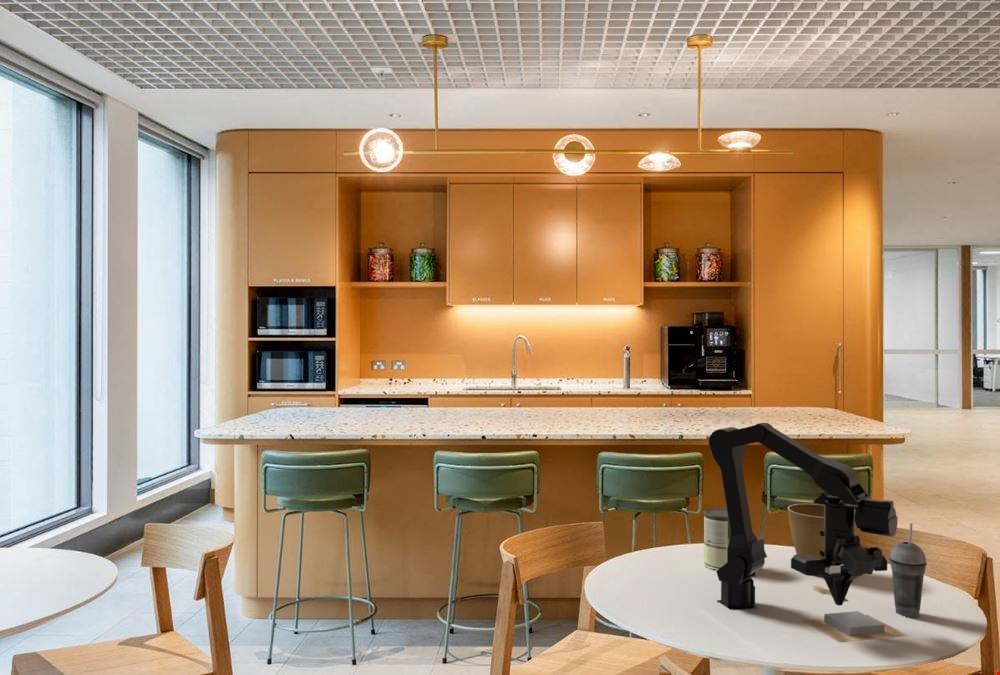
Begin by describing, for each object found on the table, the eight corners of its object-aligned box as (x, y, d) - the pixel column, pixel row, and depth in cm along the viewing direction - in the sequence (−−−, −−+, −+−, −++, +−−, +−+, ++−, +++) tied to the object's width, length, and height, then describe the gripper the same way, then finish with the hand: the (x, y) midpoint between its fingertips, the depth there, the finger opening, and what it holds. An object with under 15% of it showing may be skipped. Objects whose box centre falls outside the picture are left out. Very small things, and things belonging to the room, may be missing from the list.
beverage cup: (914, 608, 176) (915, 518, 176) (933, 620, 168) (934, 526, 168) (882, 608, 175) (883, 518, 175) (899, 620, 168) (900, 526, 168)
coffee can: (710, 558, 214) (710, 506, 214) (748, 564, 208) (749, 511, 208) (697, 567, 205) (698, 513, 205) (737, 574, 200) (738, 518, 200)
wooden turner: (872, 612, 173) (872, 607, 173) (852, 613, 172) (852, 609, 172) (825, 589, 189) (825, 584, 189) (807, 590, 188) (807, 586, 188)
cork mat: (838, 645, 154) (838, 642, 154) (801, 623, 166) (801, 620, 166) (908, 638, 158) (908, 635, 158) (867, 617, 170) (867, 614, 170)
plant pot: (776, 571, 203) (776, 509, 202) (804, 560, 213) (804, 501, 212) (833, 585, 192) (834, 519, 191) (860, 573, 202) (860, 510, 201)
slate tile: (849, 627, 157) (884, 624, 159) (824, 613, 165) (857, 611, 167) (849, 636, 157) (884, 633, 159) (824, 622, 165) (857, 619, 167)
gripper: (823, 540, 151) (823, 622, 151) (907, 535, 155) (907, 615, 155) (789, 526, 162) (789, 603, 162) (868, 522, 166) (868, 596, 166)
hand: (838, 604), depth 161 cm, fingers closed
